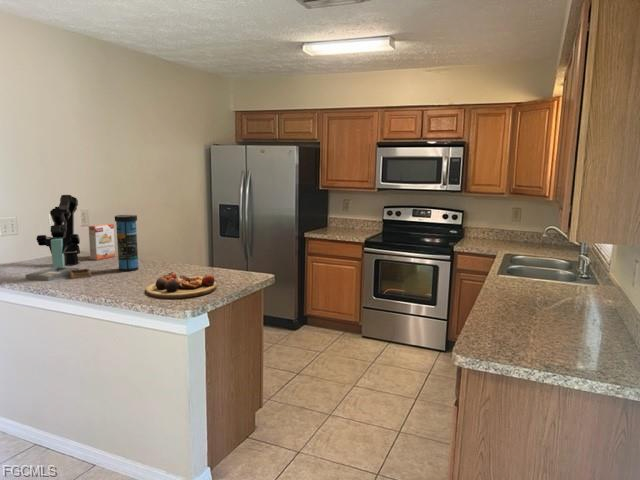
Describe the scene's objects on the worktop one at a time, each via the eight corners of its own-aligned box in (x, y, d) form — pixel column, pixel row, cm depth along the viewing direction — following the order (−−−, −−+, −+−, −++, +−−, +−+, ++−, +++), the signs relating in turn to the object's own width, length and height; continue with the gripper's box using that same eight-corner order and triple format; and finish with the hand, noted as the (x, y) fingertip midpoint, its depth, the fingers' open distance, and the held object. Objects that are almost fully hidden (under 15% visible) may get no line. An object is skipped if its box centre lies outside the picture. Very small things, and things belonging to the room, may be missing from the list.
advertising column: (119, 267, 254) (116, 214, 249) (140, 267, 257) (138, 214, 252) (115, 272, 243) (112, 217, 238) (138, 271, 246) (135, 216, 241)
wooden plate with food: (228, 284, 224) (227, 268, 222) (195, 301, 193) (194, 283, 192) (171, 280, 231) (170, 265, 230) (130, 297, 201) (129, 279, 200)
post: (54, 265, 231) (52, 238, 229) (64, 265, 233) (62, 238, 230) (52, 267, 227) (50, 240, 225) (63, 267, 228) (60, 239, 226)
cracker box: (97, 260, 272) (94, 226, 269) (90, 259, 274) (87, 225, 271) (115, 256, 285) (113, 223, 281) (108, 255, 287) (106, 223, 284)
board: (25, 278, 227) (25, 274, 227) (57, 270, 247) (57, 266, 246) (48, 280, 224) (48, 276, 224) (79, 271, 243) (78, 267, 243)
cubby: (69, 275, 235) (68, 270, 235) (88, 273, 240) (88, 268, 240) (71, 279, 228) (71, 274, 228) (91, 276, 233) (91, 272, 233)
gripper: (35, 219, 226) (31, 244, 218) (77, 218, 233) (75, 243, 224) (40, 232, 235) (37, 257, 227) (80, 231, 241) (78, 255, 233)
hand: (57, 253), depth 227 cm, fingers closed on post, 4 cm apart
